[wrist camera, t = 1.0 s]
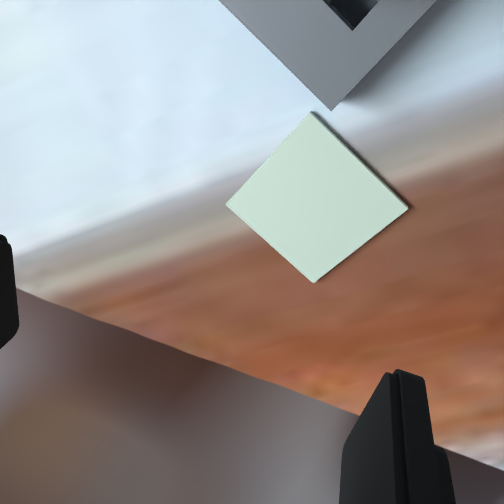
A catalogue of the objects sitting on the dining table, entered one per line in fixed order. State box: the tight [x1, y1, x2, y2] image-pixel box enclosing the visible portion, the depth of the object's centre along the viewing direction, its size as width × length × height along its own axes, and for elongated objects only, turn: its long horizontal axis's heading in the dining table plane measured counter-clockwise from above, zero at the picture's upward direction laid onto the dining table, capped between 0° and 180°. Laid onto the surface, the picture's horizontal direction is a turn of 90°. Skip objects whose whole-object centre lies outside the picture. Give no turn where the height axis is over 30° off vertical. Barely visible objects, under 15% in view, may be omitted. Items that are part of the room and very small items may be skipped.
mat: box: [226, 112, 408, 283], centre depth 40 cm, size 12×12×1 cm
